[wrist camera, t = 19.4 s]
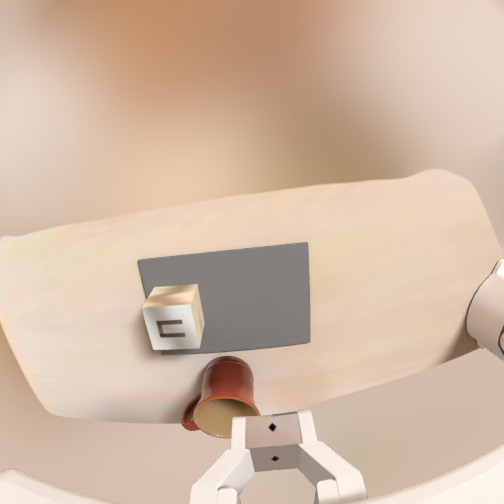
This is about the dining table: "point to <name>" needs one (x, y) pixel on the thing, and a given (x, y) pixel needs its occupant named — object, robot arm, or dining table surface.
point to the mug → (222, 398)
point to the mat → (242, 294)
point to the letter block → (174, 317)
